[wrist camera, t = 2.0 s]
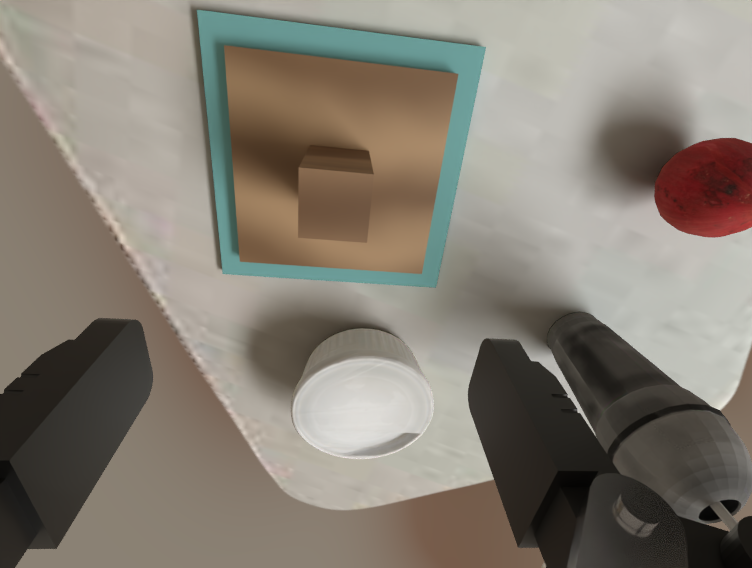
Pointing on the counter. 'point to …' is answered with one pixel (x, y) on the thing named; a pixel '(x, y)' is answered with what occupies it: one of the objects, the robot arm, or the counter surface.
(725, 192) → the pomegranate
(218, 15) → the mat
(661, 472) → the beverage cup
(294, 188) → the lid
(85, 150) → the counter surface
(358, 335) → the ramekin
